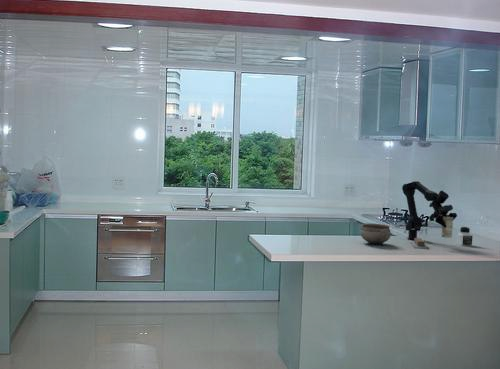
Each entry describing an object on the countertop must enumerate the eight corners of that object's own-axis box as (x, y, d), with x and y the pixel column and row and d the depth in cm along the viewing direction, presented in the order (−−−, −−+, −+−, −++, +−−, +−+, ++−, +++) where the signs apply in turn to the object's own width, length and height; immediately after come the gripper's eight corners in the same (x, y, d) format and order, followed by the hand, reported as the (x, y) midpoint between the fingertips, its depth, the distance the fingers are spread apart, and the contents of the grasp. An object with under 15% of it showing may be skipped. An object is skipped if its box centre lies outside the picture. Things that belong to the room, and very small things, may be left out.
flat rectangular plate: (409, 243, 396) (410, 237, 396) (423, 244, 395) (424, 238, 395) (413, 248, 376) (414, 241, 376) (428, 248, 375) (429, 242, 375)
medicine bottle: (462, 245, 395) (463, 227, 394) (456, 244, 402) (457, 226, 401) (472, 245, 397) (473, 227, 396) (465, 244, 404) (467, 226, 403)
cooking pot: (350, 242, 390) (351, 223, 389) (369, 240, 402) (370, 222, 401) (381, 248, 370) (382, 228, 370) (400, 245, 383) (401, 226, 382)
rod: (441, 236, 385) (442, 216, 384) (447, 236, 387) (448, 216, 386) (446, 237, 381) (447, 217, 380) (451, 237, 383) (453, 217, 382)
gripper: (433, 200, 383) (443, 219, 373) (456, 200, 390) (467, 219, 380) (424, 211, 390) (434, 230, 381) (447, 211, 397) (457, 230, 388)
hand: (448, 227), depth 382 cm, fingers closed on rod, 4 cm apart
